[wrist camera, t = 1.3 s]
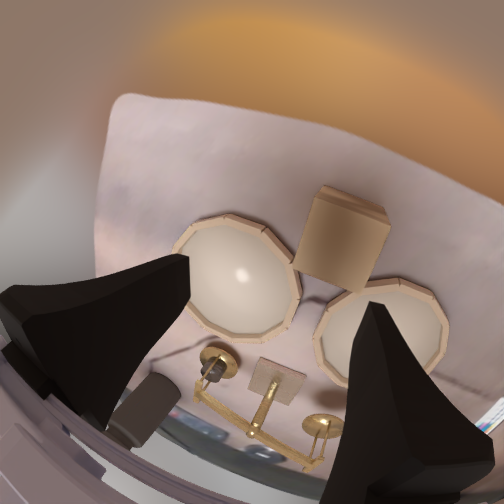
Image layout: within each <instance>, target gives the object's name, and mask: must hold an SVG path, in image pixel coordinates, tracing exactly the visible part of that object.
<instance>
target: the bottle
mask: <svg viewBox="0 0 504 504" xmlns="http://www.w3.org/2000/svg"><path fill="white" fill-rule="evenodd" d="M180 397H181V396H180V392H179V390H178V388H177V387H176V386H175V385H174V383H172V382H171V381H170V380H169V379H168V378H166V377H165V376H163V375H161V374H158V373H150V374H149V375H148V376H147V377H146V378H145V379H144V380H143V381H142V382H141V383H140V384H139V386H138V387H137V388H136V389H135V390H134V391H133V392H132V393H131V394H130V395H129V396H128V397H127V398H126V399H125V400H124V401H123V402H122V404H121V405H120V406H119V407H118V408H117V409H116V410H115V411H114V412H113V413H112V415H111V417H110V420H109V422H108V426H109V428H108V429H107V430H105V431H102V432H101V433H102V434H104V435H105V436H106V437H108V438H109V439H111V440H112V441H114V442H116V443H117V444H119V445H120V446H122V447H123V448H125V449H127V450H128V451H130V449H131V448H132V447H136V448H140V447H142V446H143V445H144V443H145V442H146V441H147V440H148V439H149V437H150V436H151V435H152V434H153V432H154V431H155V430H156V429H157V428H158V426H159V425H160V424H161V422H162V421H163V420H164V419H165V417H166V416H167V415H168V413H169V412H170V411H171V410H172V408H173V407H174V406H175V404H176V403H177V402H178V400H179V399H180ZM130 452H131V451H130Z"/></svg>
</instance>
